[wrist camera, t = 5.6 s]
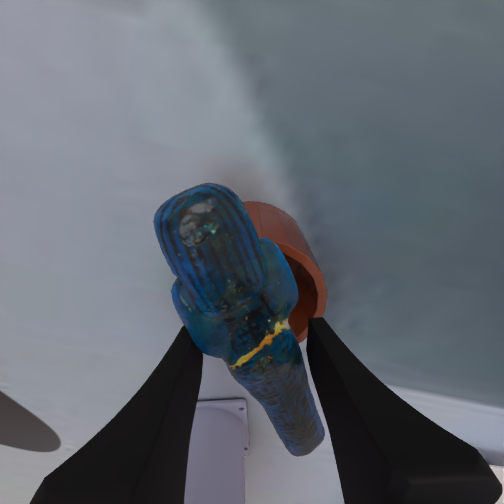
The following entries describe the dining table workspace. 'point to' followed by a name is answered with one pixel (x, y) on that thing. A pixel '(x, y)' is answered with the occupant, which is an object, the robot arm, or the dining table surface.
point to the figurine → (239, 304)
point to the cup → (293, 263)
